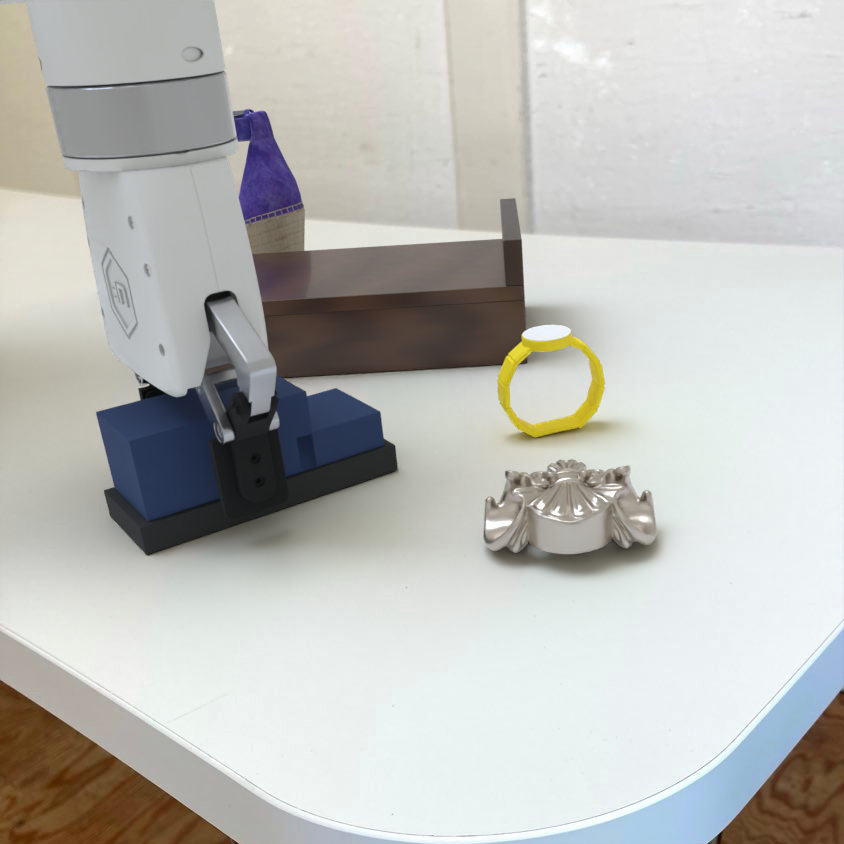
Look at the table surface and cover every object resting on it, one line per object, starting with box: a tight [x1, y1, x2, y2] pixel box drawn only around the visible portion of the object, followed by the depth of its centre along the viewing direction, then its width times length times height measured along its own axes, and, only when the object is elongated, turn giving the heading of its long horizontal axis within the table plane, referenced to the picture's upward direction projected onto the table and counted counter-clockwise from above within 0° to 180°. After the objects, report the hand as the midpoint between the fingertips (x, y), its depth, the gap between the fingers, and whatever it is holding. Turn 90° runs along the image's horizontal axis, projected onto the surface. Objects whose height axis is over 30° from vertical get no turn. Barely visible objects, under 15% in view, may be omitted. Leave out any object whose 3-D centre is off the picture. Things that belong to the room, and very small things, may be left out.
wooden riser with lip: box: [205, 197, 529, 379], centre depth 76 cm, size 24×14×8 cm, turn 91°
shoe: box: [95, 375, 399, 555], centre depth 55 cm, size 14×6×6 cm, turn 126°
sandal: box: [233, 108, 306, 254], centre depth 89 cm, size 8×20×15 cm, turn 64°
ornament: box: [482, 458, 658, 555], centre depth 49 cm, size 8×7×4 cm
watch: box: [496, 324, 606, 439], centre depth 60 cm, size 6×3×6 cm, turn 106°
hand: (218, 477), depth 54 cm, fingers open, 9 cm apart
